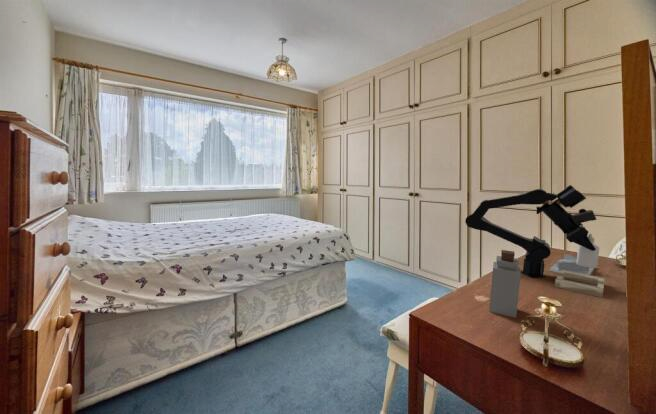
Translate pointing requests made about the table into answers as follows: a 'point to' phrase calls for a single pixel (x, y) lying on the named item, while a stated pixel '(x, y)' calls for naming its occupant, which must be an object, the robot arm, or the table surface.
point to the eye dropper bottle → (588, 255)
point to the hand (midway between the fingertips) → (593, 249)
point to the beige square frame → (578, 286)
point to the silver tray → (570, 266)
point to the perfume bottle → (505, 285)
